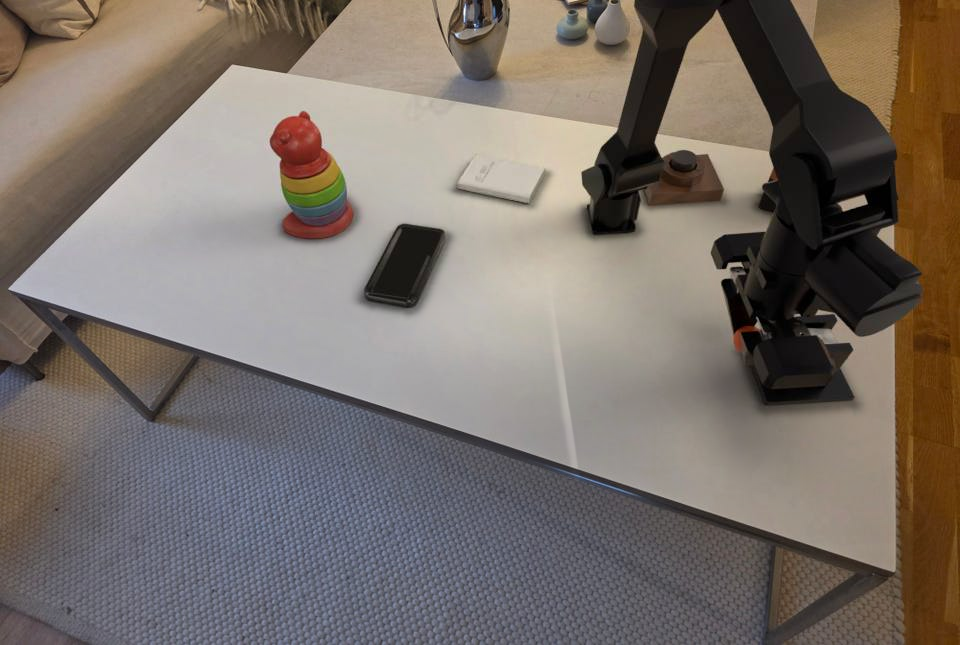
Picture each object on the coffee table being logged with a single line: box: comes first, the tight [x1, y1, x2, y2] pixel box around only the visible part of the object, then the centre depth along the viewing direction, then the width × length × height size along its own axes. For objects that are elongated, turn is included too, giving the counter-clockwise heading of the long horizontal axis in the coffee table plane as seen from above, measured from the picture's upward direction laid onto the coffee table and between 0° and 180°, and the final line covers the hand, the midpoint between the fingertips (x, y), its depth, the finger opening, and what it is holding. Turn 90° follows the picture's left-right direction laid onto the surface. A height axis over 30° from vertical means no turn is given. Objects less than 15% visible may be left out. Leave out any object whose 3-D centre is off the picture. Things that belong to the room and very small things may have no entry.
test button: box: [671, 149, 697, 173], centre depth 90 cm, size 4×4×2 cm
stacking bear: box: [269, 110, 354, 239], centre depth 87 cm, size 11×10×18 cm
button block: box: [643, 151, 725, 206], centre depth 92 cm, size 11×9×4 cm
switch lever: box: [732, 326, 839, 354], centre depth 65 cm, size 11×3×3 cm, turn 92°
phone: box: [363, 223, 447, 308], centre depth 86 cm, size 8×1×15 cm
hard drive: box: [457, 154, 546, 204], centre depth 97 cm, size 2×8×12 cm
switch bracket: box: [749, 313, 856, 407], centre depth 67 cm, size 10×8×9 cm
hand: (744, 352), depth 66 cm, fingers closed on switch lever, 3 cm apart
